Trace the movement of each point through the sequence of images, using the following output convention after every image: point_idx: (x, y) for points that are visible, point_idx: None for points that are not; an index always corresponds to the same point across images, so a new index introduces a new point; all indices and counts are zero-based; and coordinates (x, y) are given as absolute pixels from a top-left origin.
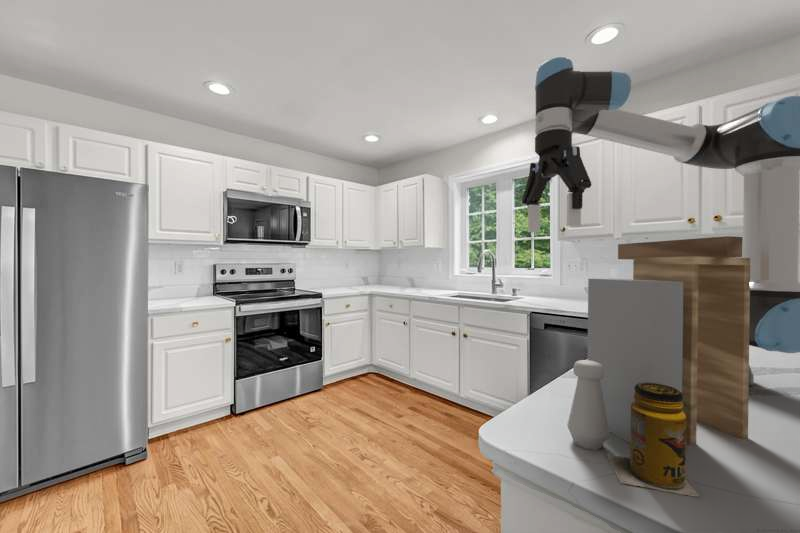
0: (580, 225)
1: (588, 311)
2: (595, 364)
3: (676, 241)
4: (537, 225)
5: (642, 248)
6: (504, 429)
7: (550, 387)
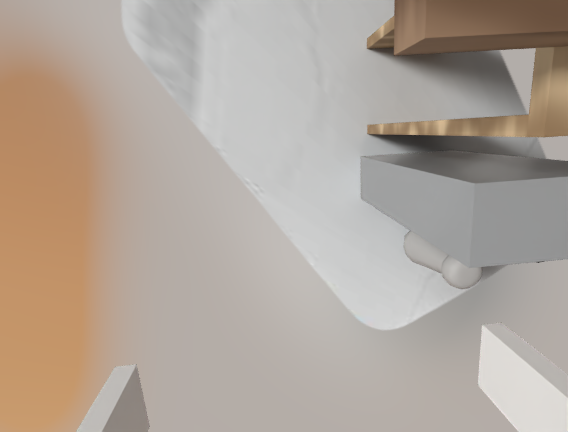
0: (503, 324)
1: (428, 241)
2: (478, 272)
3: None
4: (124, 414)
5: (544, 39)
6: (370, 308)
7: (243, 179)
